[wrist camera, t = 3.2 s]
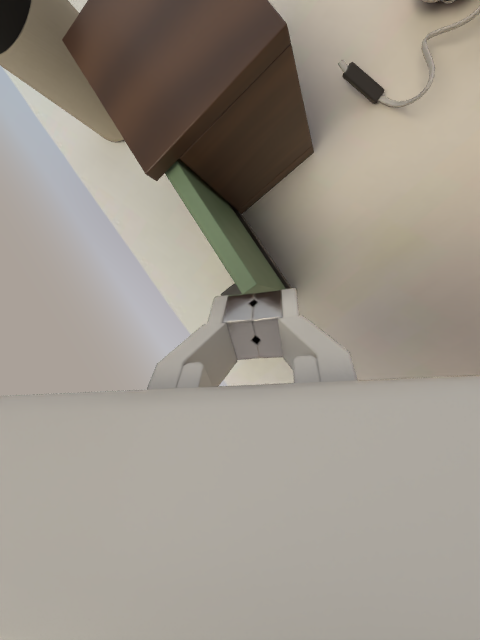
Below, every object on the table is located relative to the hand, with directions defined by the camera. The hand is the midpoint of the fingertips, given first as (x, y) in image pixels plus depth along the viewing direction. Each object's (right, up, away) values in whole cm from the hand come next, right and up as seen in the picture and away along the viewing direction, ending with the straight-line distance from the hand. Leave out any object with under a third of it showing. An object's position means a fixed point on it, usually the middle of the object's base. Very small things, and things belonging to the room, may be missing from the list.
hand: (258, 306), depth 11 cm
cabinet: (+2, +14, +19) cm, 23 cm away
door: (0, +6, +18) cm, 19 cm away
